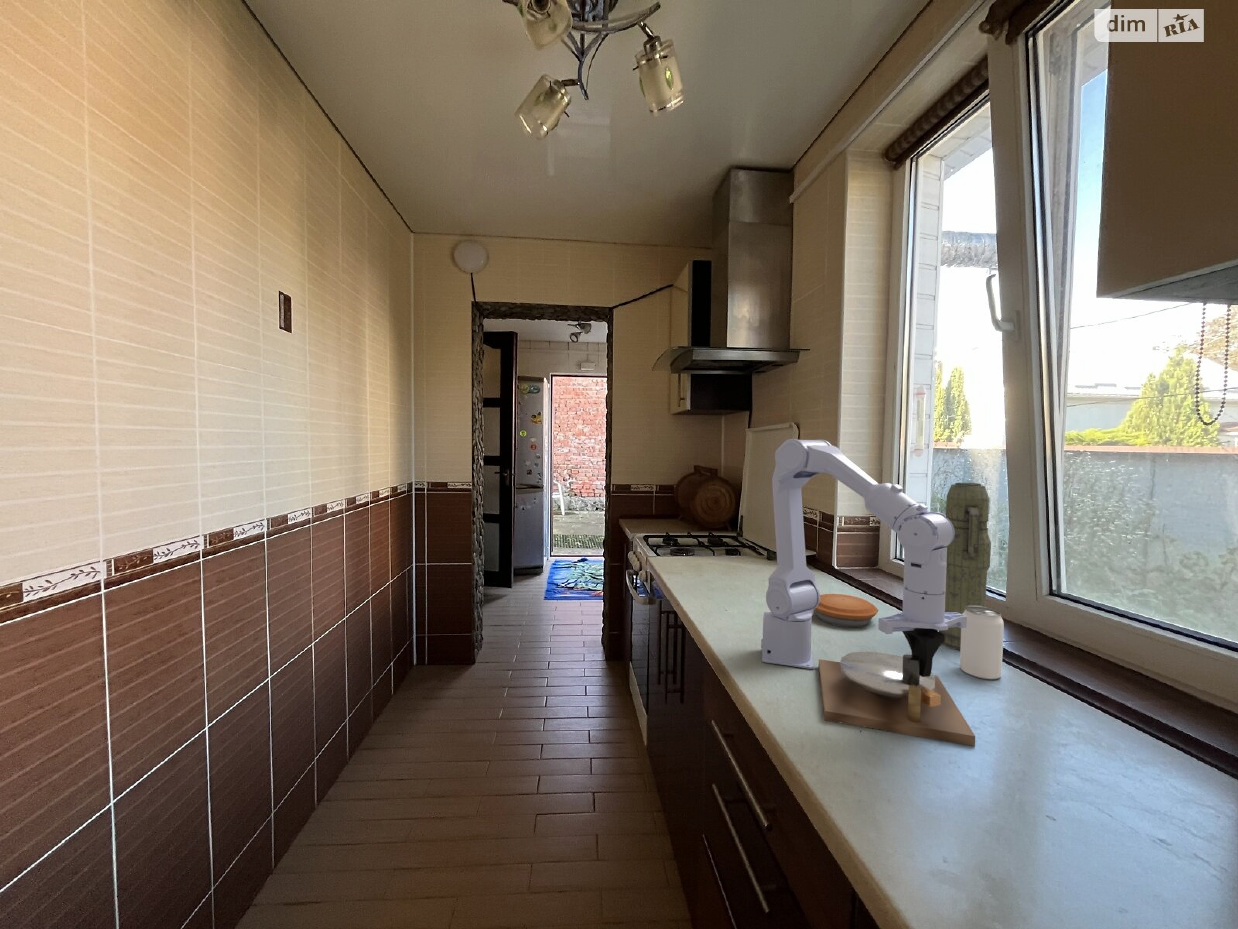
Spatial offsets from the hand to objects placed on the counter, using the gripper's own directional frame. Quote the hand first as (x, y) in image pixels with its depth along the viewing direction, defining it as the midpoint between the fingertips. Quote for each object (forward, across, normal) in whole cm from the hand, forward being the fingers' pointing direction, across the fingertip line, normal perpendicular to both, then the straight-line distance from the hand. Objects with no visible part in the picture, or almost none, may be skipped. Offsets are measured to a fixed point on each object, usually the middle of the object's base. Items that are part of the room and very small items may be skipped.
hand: (921, 673), depth 81 cm
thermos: (+7, +32, +23) cm, 40 cm away
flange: (+3, -2, +4) cm, 5 cm away
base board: (+7, -2, +5) cm, 9 cm away
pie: (+7, +16, +42) cm, 45 cm away
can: (+7, +23, +11) cm, 27 cm away
